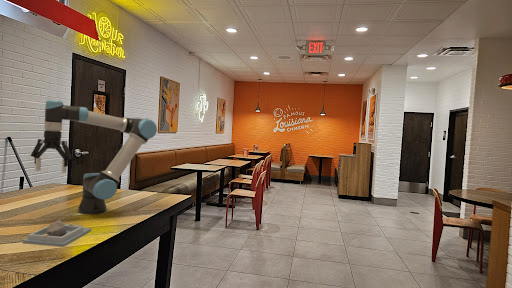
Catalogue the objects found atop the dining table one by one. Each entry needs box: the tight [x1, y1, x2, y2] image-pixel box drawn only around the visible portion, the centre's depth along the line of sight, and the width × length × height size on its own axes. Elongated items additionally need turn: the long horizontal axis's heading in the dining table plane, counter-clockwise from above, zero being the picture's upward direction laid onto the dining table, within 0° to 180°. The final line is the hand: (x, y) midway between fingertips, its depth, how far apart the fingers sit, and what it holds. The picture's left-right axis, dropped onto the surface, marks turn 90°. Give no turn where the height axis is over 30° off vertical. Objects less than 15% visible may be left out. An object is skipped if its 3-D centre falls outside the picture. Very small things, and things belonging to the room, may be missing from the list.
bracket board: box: [22, 222, 92, 248], centre depth 149 cm, size 22×18×4 cm
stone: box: [46, 219, 67, 236], centre depth 148 cm, size 8×10×6 cm
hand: (50, 171), depth 165 cm, fingers open, 13 cm apart
